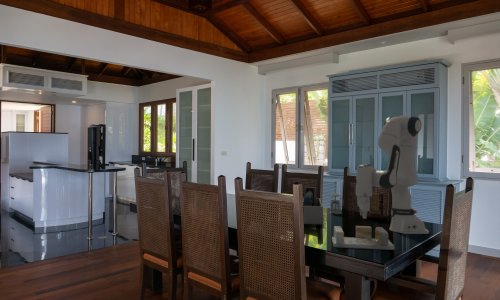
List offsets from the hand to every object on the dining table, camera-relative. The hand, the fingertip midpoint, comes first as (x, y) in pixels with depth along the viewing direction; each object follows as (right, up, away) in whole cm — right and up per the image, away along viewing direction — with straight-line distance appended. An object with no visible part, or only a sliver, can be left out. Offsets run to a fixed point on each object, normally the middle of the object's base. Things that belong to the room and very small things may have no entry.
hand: (363, 216), depth 204 cm
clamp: (-21, -13, +59) cm, 64 cm away
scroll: (+27, -13, +59) cm, 66 cm away
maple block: (0, -13, 0) cm, 13 cm away
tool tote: (-19, -12, +59) cm, 63 cm away
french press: (+4, -12, +81) cm, 82 cm away
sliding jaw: (+5, -11, -14) cm, 18 cm away
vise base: (-4, -13, -12) cm, 18 cm away
